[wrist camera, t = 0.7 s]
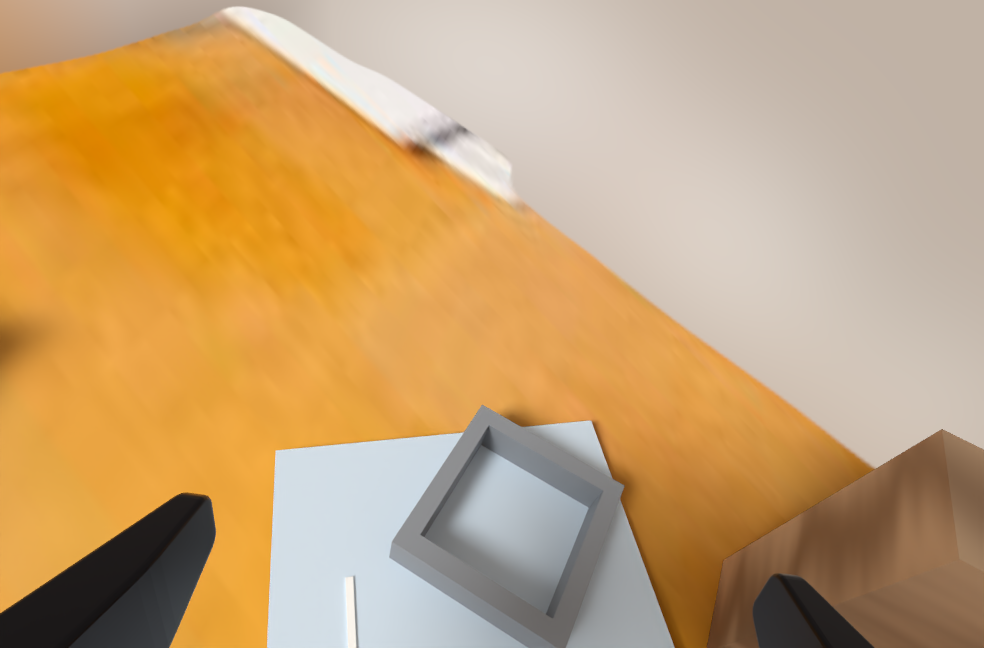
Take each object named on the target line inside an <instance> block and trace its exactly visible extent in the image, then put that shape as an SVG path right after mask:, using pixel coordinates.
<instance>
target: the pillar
mask: <svg viewBox="0 0 984 648" xmlns="http://www.w3.org/2000/svg"><path fill="white" fill-rule="evenodd" d="M774 573H784V574H791V575H797V576H800V577H802V578H803V579H805V580H806V581H807V582H808V583H809V584H810V585H811V586H812V587H813V588H814V589H815V590H816V591H817V592H818V593H819V594H820V595H821V596H822V597H823V598H824V599H825V600H826V601H827V602H829V603H830V604H831V605H832V606H833V607H834V608H835V609H836V610H837V611H838V612H839V613H840V614H841V615H842V616H843V617H844V618H845V619H846V620H847V621H848V622H849V623H850V624H851V625H852V626H853V627H854V628H855V629H856V630H857V631H858V632H859V633H860V634H861V635H862V636H863V637H864V638H865V639H866V640H868V641H869V642H870V643H871V644H872V645H873V646H874V647H875V648H984V450H983V449H981V448H979V447H977V446H975V445H973V444H971V443H969V442H967V441H965V440H963V439H961V438H959V437H957V436H955V435H953V434H951V433H949V432H947V431H945V430H943V429H942V430H940V431H938V432H936V433H935V434H933V435H931V436H930V437H928V438H926V439H925V440H923V441H921V442H920V443H918V444H917V445H915V446H913V447H911V448H910V449H908V450H906V451H905V452H903V453H901V454H900V455H898V456H896V457H895V458H893V459H891V460H890V461H888V462H886V463H885V464H883V465H881V466H880V467H878V468H876V469H875V470H873V471H871V472H870V473H868V474H866V475H865V476H863V477H861V478H860V479H858V480H856V481H855V482H853V483H851V484H850V485H848V486H846V487H845V488H843V489H841V490H840V491H838V492H836V493H835V494H833V495H831V496H830V497H828V498H826V499H825V500H823V501H821V502H820V503H818V504H816V505H815V506H813V507H811V508H810V509H808V510H806V511H805V512H803V513H801V514H800V515H798V516H796V517H795V518H793V519H791V520H790V521H788V522H786V523H785V524H783V525H781V526H780V527H778V528H776V529H775V530H773V531H771V532H770V533H768V534H766V535H765V536H763V537H761V538H760V539H758V540H756V541H755V542H753V543H751V544H750V545H748V546H746V547H745V548H743V549H741V550H740V551H738V552H736V553H735V554H733V555H731V556H730V557H728V558H726V559H724V560H723V565H722V571H721V576H720V581H719V586H718V592H717V597H716V602H715V607H714V613H713V618H712V623H711V628H710V634H709V639H708V644H707V648H759V645H758V640H757V636H756V631H755V626H754V622H753V615H752V609H753V604H754V601H755V599H756V598H757V596H758V595H759V593H760V591H761V590H762V588H763V587H764V585H765V584H766V582H767V580H768V579H769V577H770V576H771V575H772V574H774Z"/></svg>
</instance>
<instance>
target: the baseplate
mask: <svg viewBox="0 0 984 648" xmlns="http://www.w3.org/2000/svg"><path fill="white" fill-rule="evenodd" d="M623 489H624V485H623V484H621V483H619V482H617V481H615V480H614V479H612V476H611V473H610V471H609V468H608V465H607V462H606V460H605V457H604V454H603V452H602V449H601V446H600V443H599V441H598V438H597V435H596V433H595V430H594V427H593V425H592V422H591V421H580V422H570V423H559V424H549V425H538V426H528V427H521V426H519V425H517V424H515V423H514V422H512V421H510V420H508V419H506V418H505V417H503V416H501V415H499V414H498V413H496V412H494V411H492V410H491V409H489V408H487V407H485V406H484V405H482V406H481V407H480V409H479V410H478V412H477V413H476V415H475V417H474V418H473V420H472V421H471V423H470V424H469V426H468V427H467V429H466V430H465V432H464V433H455V434H444V435H434V436H423V437H413V438H402V439H392V440H381V441H371V442H361V443H350V444H340V445H329V446H319V447H308V448H298V449H287V450H277V451H276V457H275V480H274V503H273V525H272V548H271V571H270V593H269V616H268V639H267V648H675V647H674V644H673V642H672V639H671V636H670V633H669V631H668V628H667V625H666V623H665V620H664V617H663V614H662V612H661V609H660V606H659V604H658V601H657V598H656V595H655V593H654V590H653V587H652V585H651V582H650V579H649V576H648V574H647V571H646V568H645V566H644V563H643V560H642V557H641V555H640V552H639V549H638V547H637V544H636V541H635V538H634V536H633V533H632V530H631V528H630V525H629V522H628V519H627V517H626V514H625V511H624V509H623V506H622V503H621V500H620V497H621V494H622V492H623Z"/></svg>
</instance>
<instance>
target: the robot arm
mask: <svg viewBox="0 0 984 648" xmlns="http://www.w3.org/2000/svg"><path fill="white" fill-rule="evenodd" d="M215 536H216V528H215V521H214V515H213V508H212V502H211V499H210V498H209V497H208V496H206V495H201V494H194V493H181V494H179V495H176V496H175V497H173V498H172V499H170V500H169V501H167V502H166V503H164V504H163V505H161V506H160V507H158V508H157V509H155V510H154V511H152V512H151V513H149V514H148V515H146V516H145V517H143V518H142V519H140V520H139V521H137V522H136V523H134V524H133V525H132V526H130V527H129V528H127V529H126V530H124V531H123V532H121V533H120V534H118V535H117V536H115V537H114V538H112V539H111V540H109V541H108V542H106V543H105V544H103V545H102V546H100V547H99V548H97V549H96V550H94V551H93V552H91V553H90V554H88V555H87V556H85V557H84V558H82V559H81V560H79V561H78V562H76V563H75V564H73V565H72V566H70V567H69V568H67V569H66V570H64V571H63V572H61V573H60V574H58V575H57V576H55V577H54V578H52V579H51V580H49V581H48V582H46V583H45V584H43V585H42V586H40V587H39V588H37V589H36V590H35V591H33V592H32V593H30V594H29V595H27V596H26V597H24V598H23V599H21V600H20V601H18V602H17V603H15V604H14V605H12V606H11V607H9V608H8V609H6V610H5V611H3V612H2V613H0V648H169V647H170V645H171V643H172V640H173V638H174V636H175V634H176V632H177V629H178V627H179V625H180V622H181V620H182V618H183V615H184V613H185V611H186V608H187V606H188V603H189V601H190V599H191V596H192V594H193V592H194V589H195V587H196V585H197V582H198V580H199V578H200V575H201V573H202V571H203V568H204V566H205V564H206V561H207V559H208V556H209V554H210V552H211V549H212V547H213V544H214V541H215ZM752 615H753V622H754V626H755V631H756V636H757V640H758V645H759V648H875V647H874V646H873V645H872V644H871V643H870V642H869V641H868V640H866V639H865V638H864V637H863V636H862V635H861V634H860V633H859V632H858V631H857V630H856V629H855V628H854V627H853V626H852V625H851V624H850V623H849V622H848V621H847V620H846V619H845V618H844V617H843V616H842V615H841V614H840V613H839V612H838V611H837V610H836V609H835V608H834V607H833V606H832V605H831V604H830V603H829V602H827V601H826V600H825V599H824V598H823V597H822V596H821V595H820V594H819V593H818V592H817V591H816V590H815V589H814V588H813V587H812V586H811V585H810V584H809V583H808V582H807V581H806V580H805V579H803V578H802V577H800V576H797V575H791V574H784V573H774V574H772V575H771V576H770V577H769V579H768V580H767V582H766V584H765V585H764V587H763V588H762V590H761V591H760V593H759V595H758V596H757V598H756V599H755V601H754V604H753V609H752Z"/></svg>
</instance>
